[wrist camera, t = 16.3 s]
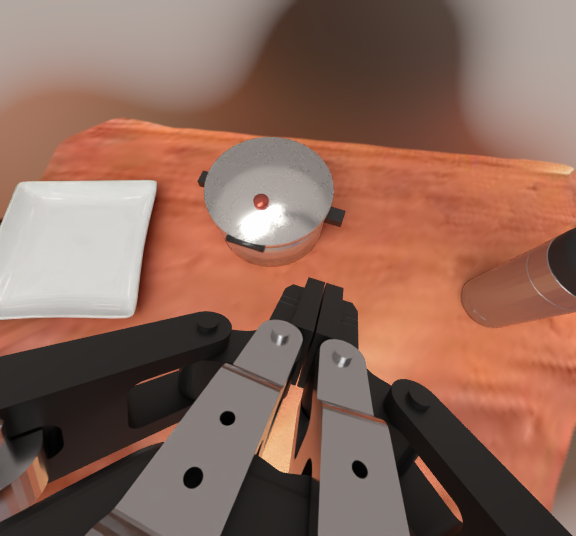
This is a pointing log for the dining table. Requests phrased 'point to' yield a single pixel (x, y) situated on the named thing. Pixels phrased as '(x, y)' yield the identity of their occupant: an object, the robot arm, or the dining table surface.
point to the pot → (286, 253)
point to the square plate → (74, 248)
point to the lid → (268, 193)
